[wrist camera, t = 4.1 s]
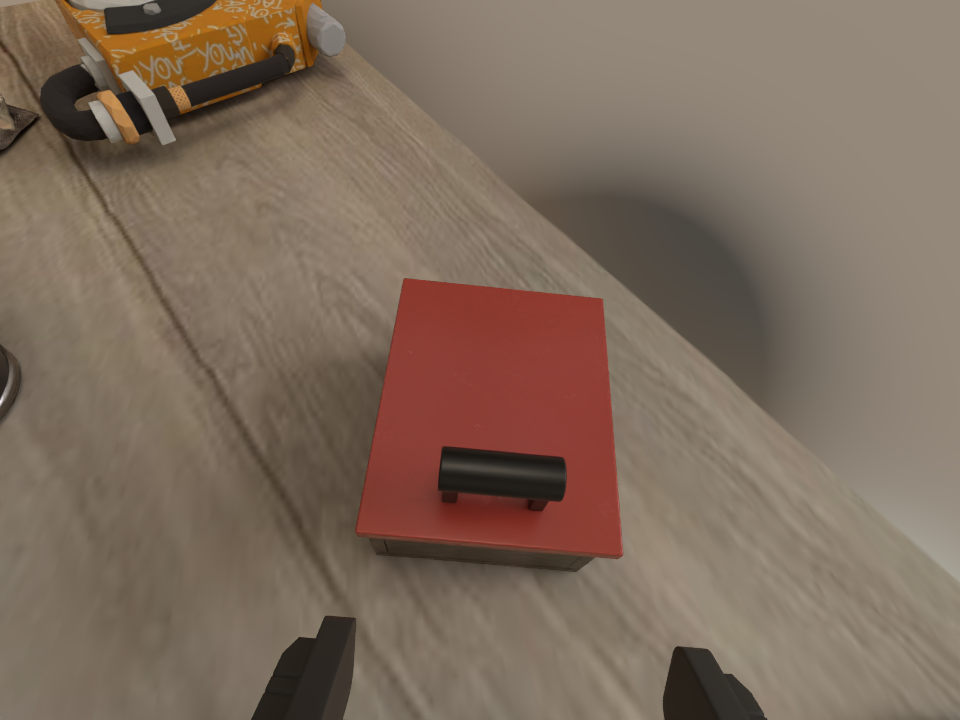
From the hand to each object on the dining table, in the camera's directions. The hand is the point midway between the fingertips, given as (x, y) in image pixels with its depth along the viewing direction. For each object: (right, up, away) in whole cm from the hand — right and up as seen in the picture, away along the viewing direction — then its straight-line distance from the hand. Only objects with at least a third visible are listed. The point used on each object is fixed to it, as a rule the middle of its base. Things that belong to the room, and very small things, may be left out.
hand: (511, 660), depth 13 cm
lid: (0, +5, +15) cm, 15 cm away
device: (-30, +37, +41) cm, 63 cm away
